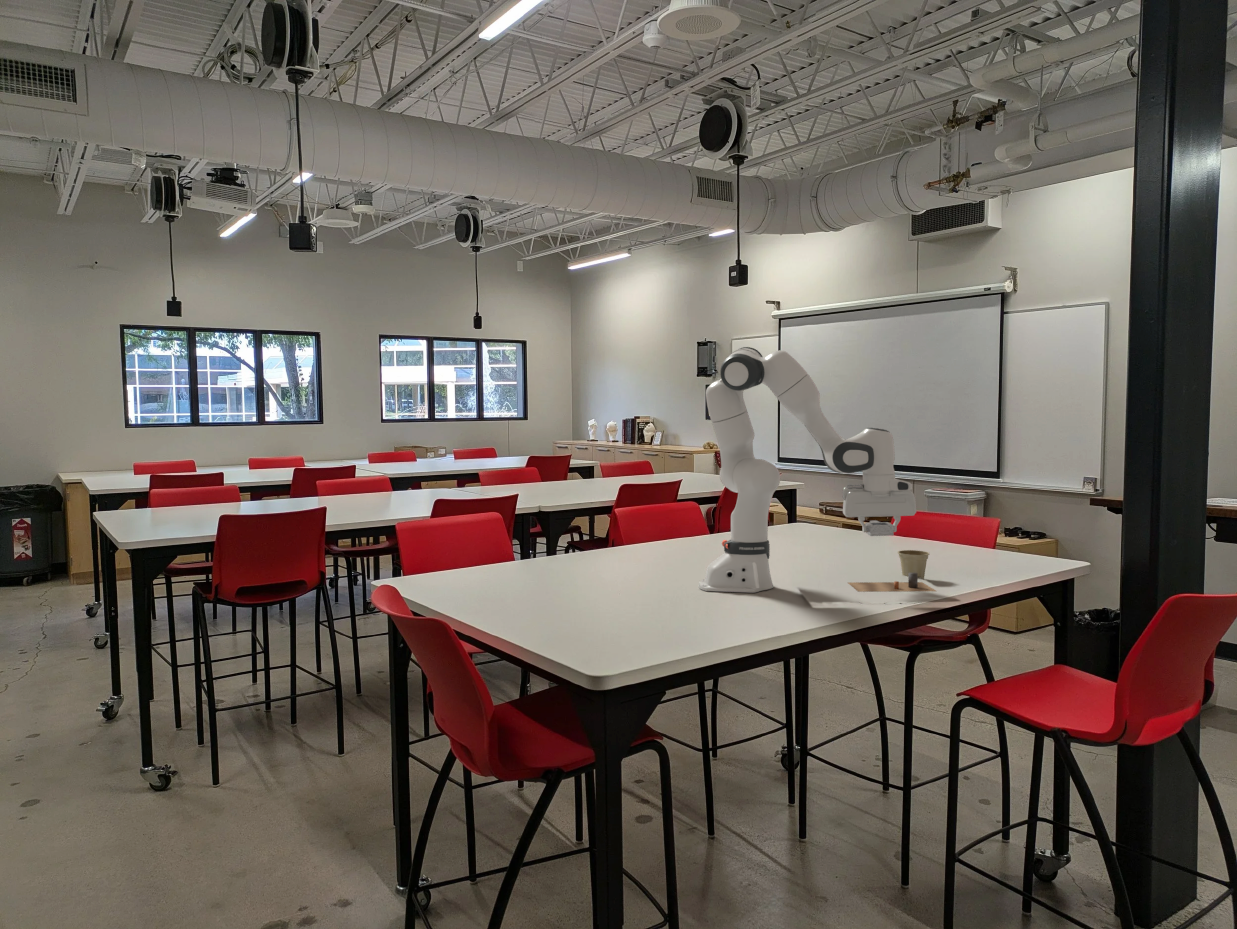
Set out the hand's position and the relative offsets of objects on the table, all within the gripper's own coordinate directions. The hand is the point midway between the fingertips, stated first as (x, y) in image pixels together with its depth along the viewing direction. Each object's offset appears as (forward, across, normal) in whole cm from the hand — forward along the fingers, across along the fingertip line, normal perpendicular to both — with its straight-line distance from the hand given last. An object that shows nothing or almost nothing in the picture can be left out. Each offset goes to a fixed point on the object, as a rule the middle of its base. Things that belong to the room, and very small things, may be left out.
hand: (879, 531), depth 234 cm
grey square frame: (+1, 0, +2) cm, 2 cm away
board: (+18, +3, +1) cm, 18 cm away
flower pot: (+18, +15, +20) cm, 31 cm away
